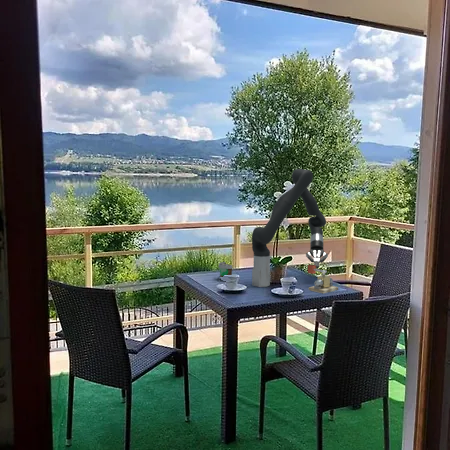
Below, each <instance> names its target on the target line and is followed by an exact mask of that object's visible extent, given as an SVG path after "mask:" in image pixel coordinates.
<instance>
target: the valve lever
mask: <svg viewBox="0 0 450 450" xmlns="http://www.w3.org/2000/svg"><path fill="white" fill-rule="evenodd" d="M317 272H320V274H321V273H322V275H321V276H326V273H327V270H326V269H320V268H318V269H317V268H316V265H314V264H307V274H310V275H313V274H315V275H316V273H317ZM327 274H328V273H327Z"/></svg>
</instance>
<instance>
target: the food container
mask: <svg viewBox="0 0 450 450" xmlns="http://www.w3.org/2000/svg"><path fill="white" fill-rule="evenodd" d="M217 267H218V269H219V278H220V277H223V276H224V275H232V274H233V265H232V264H229V263H226V261H221V262H219V263H218V266H217Z"/></svg>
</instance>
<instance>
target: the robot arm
mask: <svg viewBox="0 0 450 450" xmlns="http://www.w3.org/2000/svg"><path fill="white" fill-rule="evenodd" d="M313 174H314V173H313V172H312V171H311V170H309V169H303V168H296V169H294V170H293V171H292V173H291V180H292V182H293V184H294V186H293V187H291V188H290V189H289V190H287V191H286V192H285V193H283V194H282V195H280V196H279V198H278V199H277V200H276V201H275V204H274V205H273V207H272V211H271V216H270V217H269V220H268V222H266V225H264V227H263V226H257V227H255V228H254V229H253V231H252V233H251V245H252V246H251V247H252V252H253V268H252V269H251V275H252V278H251V286H253V287H258V288H266V287H269V286H270V284H271V280H270V277H271V275H270V274H271V251H270V250H269V248H268V247H267V246H268V244H270V243H271V242H272V240H273V238H274V237H275V235H276V233H277V231H278V229H279V228H280V226H281V225H282V223H283V222H284V220H285V219H286V217H287V215H288V214H289V213H290V211H291V210H292V209H293V207H294V205H295V204H296V203H297V201H298V199H299V198H300V197H301V198H302V200H303V201H302V202H303V205H305V209H306V212H307V214H308V216H311V217H309V218H308V220H307V222H308V226H309V229H310V249H309V252H306V253H305V257H306V258H307V259H308V260H309V261H310V262H311V263H313V265H316V269H320V263H323V262H324V261H325V260H326V259H328V257H329V256H328V255H329V254H328V253H326V252H325V251H324V230H323V229H322V227H325V226H326V224H327V219H326V217H325V216H324V214H323V213H322V211H321V210H320V208H319V205H318V202H317V200H316V198H315V197H314V195H313V194H312V192H311V191H310V190H309V189H308V187H309V186H310V185H311V184H312V182H313V179H314V175H313Z"/></svg>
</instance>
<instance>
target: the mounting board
mask: <svg viewBox="0 0 450 450" xmlns="http://www.w3.org/2000/svg"><path fill="white" fill-rule="evenodd" d="M314 286H315V285H313V286H310V287H308V291H311V292H315V293H319V294H327V293H331V292H335V290H336V291H339V287H338V286H335V285H333V286H331V287H325V288H322V287H321V289H315V288H314Z"/></svg>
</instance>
